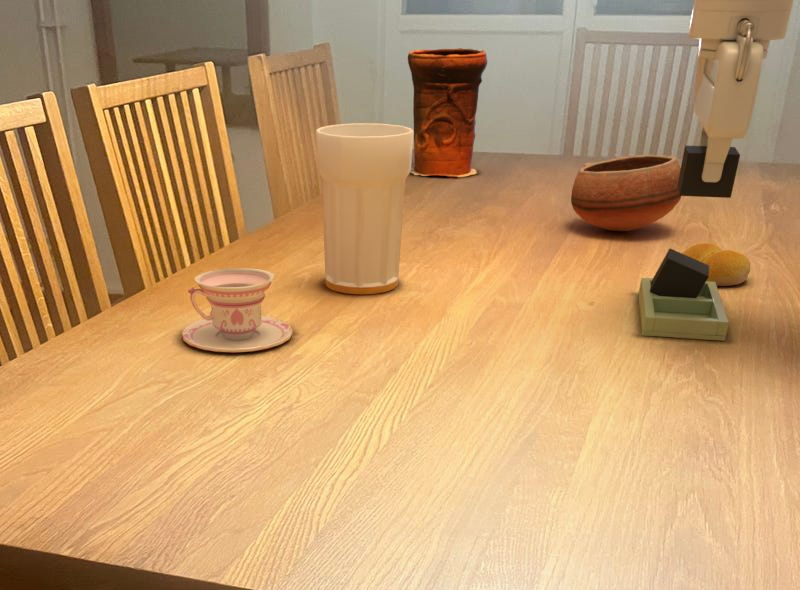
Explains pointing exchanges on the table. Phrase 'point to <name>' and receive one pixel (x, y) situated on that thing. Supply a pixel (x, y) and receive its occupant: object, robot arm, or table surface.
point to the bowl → (626, 191)
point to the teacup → (235, 312)
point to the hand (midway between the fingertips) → (707, 175)
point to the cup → (363, 203)
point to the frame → (683, 314)
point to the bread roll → (721, 263)
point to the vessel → (445, 109)
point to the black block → (692, 171)
